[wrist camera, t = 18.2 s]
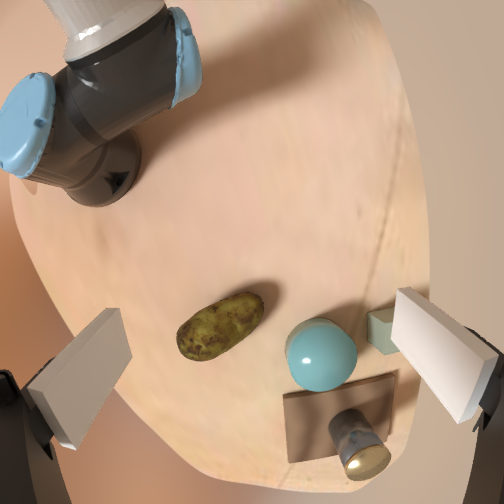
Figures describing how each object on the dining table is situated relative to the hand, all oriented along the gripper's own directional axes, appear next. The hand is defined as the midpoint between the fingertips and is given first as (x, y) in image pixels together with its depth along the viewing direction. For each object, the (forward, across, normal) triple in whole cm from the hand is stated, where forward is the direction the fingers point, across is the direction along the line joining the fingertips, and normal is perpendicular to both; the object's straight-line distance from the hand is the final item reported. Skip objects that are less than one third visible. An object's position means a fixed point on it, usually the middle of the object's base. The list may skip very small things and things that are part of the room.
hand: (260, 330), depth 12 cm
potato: (+29, -5, -14) cm, 32 cm away
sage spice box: (+28, +21, -17) cm, 39 cm away
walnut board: (+25, +13, -35) cm, 45 cm away
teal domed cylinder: (+28, +9, -19) cm, 35 cm away
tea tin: (+23, +14, -34) cm, 44 cm away
